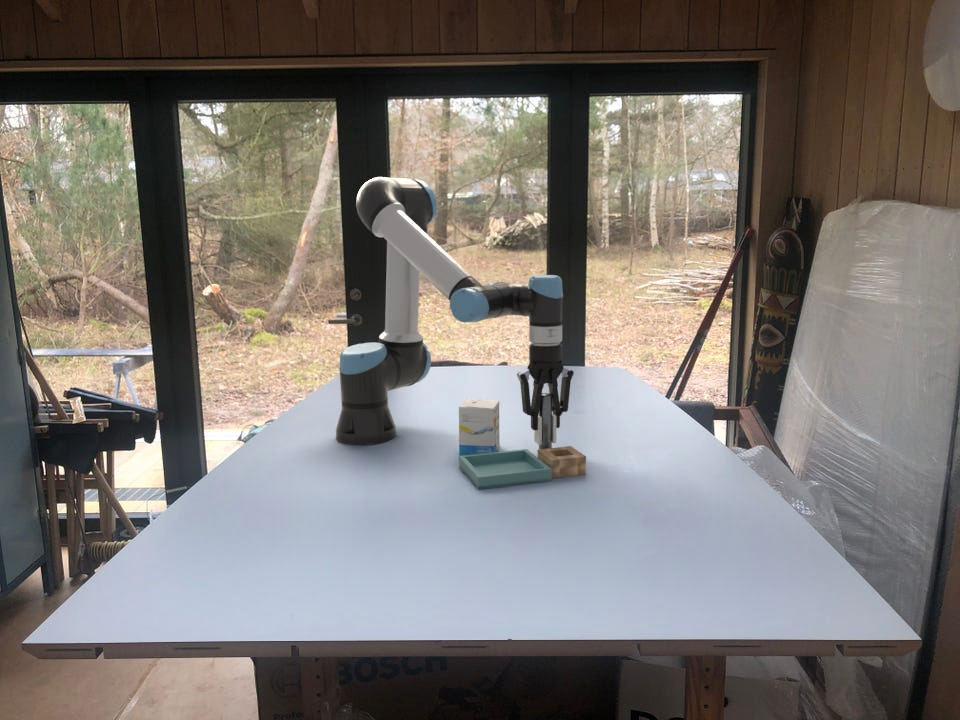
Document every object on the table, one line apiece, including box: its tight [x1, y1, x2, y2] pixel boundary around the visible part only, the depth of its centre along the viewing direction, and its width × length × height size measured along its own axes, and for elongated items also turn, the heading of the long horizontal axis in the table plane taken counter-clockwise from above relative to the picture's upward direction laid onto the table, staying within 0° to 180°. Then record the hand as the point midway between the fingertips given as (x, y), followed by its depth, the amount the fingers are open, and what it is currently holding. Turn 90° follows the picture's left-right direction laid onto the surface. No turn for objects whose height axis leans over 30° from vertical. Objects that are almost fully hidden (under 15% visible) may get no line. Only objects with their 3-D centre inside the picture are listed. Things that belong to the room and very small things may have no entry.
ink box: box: [458, 398, 501, 456], centre depth 180 cm, size 9×8×12 cm
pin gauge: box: [538, 392, 553, 450], centre depth 177 cm, size 3×3×14 cm
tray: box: [458, 448, 553, 490], centre depth 164 cm, size 16×15×3 cm
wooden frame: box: [537, 445, 587, 479], centre depth 165 cm, size 8×8×4 cm
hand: (545, 442), depth 178 cm, fingers closed on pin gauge, 3 cm apart
